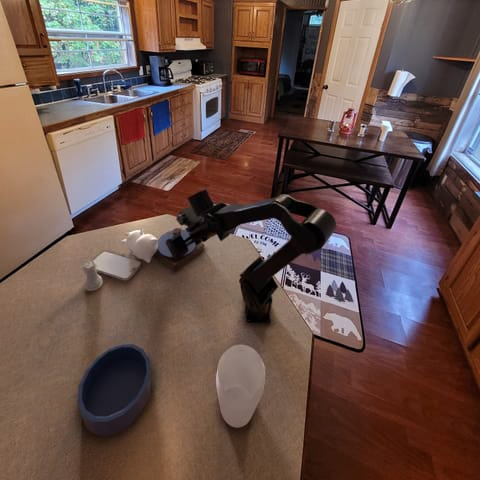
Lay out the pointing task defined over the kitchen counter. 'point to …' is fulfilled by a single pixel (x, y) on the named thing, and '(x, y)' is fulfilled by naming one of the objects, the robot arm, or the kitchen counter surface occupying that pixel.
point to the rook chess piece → (92, 277)
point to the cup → (239, 384)
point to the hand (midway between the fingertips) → (183, 240)
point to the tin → (115, 389)
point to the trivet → (177, 263)
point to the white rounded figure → (141, 244)
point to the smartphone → (116, 265)
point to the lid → (162, 240)
